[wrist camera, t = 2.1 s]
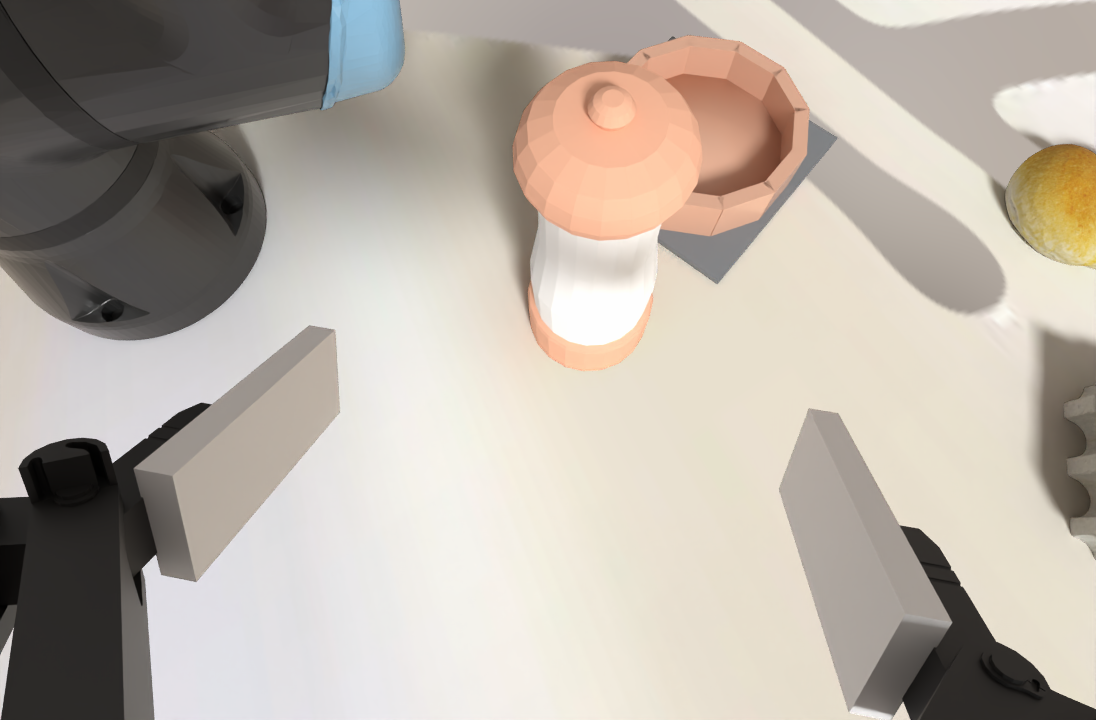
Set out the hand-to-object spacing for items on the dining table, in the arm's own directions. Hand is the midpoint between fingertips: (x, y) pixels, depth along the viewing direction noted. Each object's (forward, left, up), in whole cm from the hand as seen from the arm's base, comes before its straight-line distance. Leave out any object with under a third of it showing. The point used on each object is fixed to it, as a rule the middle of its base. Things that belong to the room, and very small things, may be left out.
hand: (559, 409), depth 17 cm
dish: (-7, +23, -19) cm, 31 cm away
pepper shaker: (-5, +9, -19) cm, 22 cm away
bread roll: (+15, +35, -19) cm, 43 cm away
